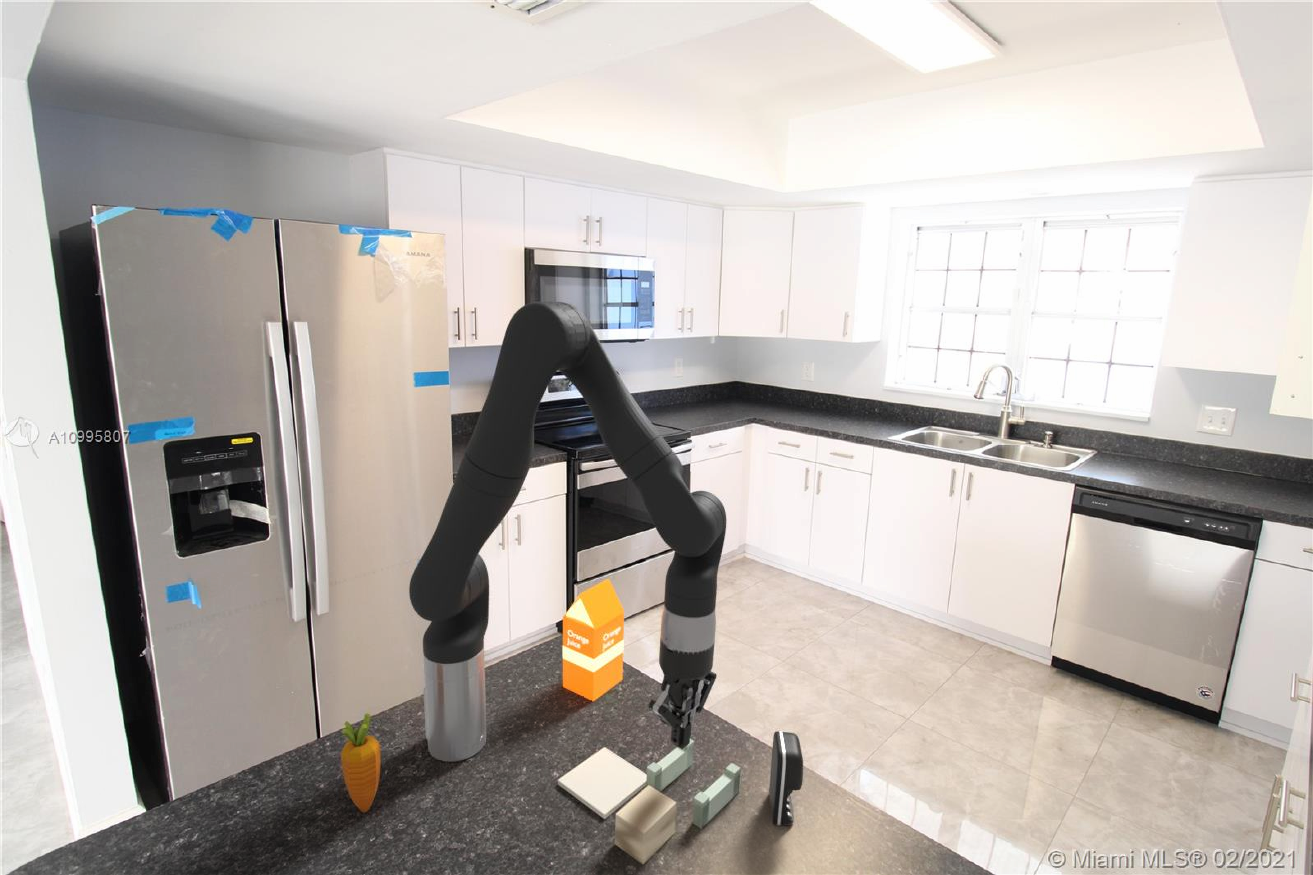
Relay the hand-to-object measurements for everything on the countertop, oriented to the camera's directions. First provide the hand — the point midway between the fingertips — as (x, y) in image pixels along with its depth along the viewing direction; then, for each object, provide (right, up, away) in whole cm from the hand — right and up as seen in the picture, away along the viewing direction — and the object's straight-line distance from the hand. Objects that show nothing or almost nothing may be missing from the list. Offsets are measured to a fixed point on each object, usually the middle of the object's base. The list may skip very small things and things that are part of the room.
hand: (680, 744), depth 95 cm
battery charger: (+15, -11, +2) cm, 19 cm away
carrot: (-45, -9, -1) cm, 46 cm away
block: (-5, -11, -4) cm, 13 cm away
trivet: (-11, -9, +6) cm, 16 cm away
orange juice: (-16, -3, +31) cm, 35 cm away
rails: (+2, -9, +5) cm, 11 cm away
